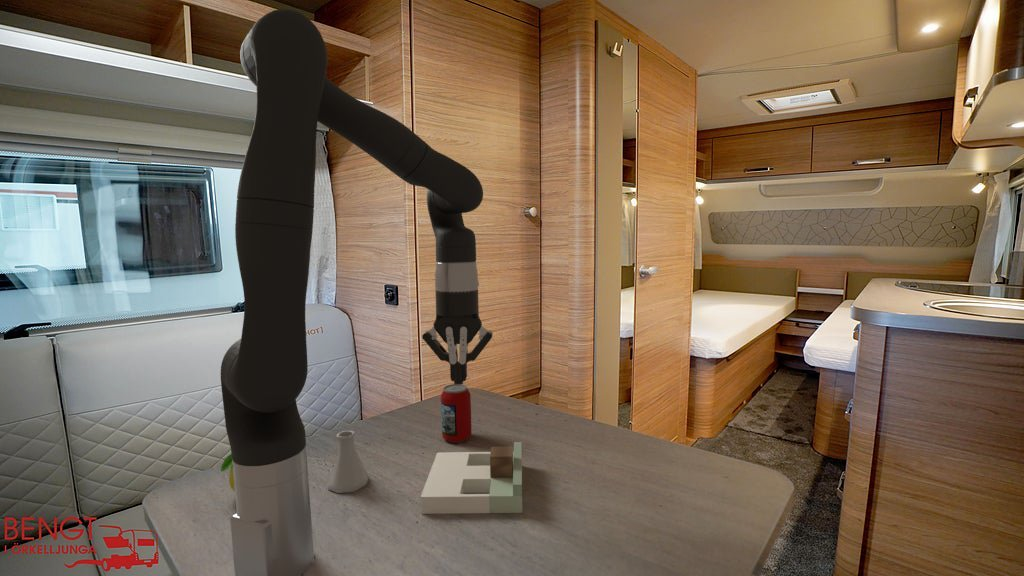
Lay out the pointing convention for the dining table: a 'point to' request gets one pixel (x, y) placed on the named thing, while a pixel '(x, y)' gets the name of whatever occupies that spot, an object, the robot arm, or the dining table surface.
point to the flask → (347, 466)
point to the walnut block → (501, 462)
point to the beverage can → (456, 413)
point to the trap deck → (471, 485)
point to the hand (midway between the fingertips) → (459, 383)
